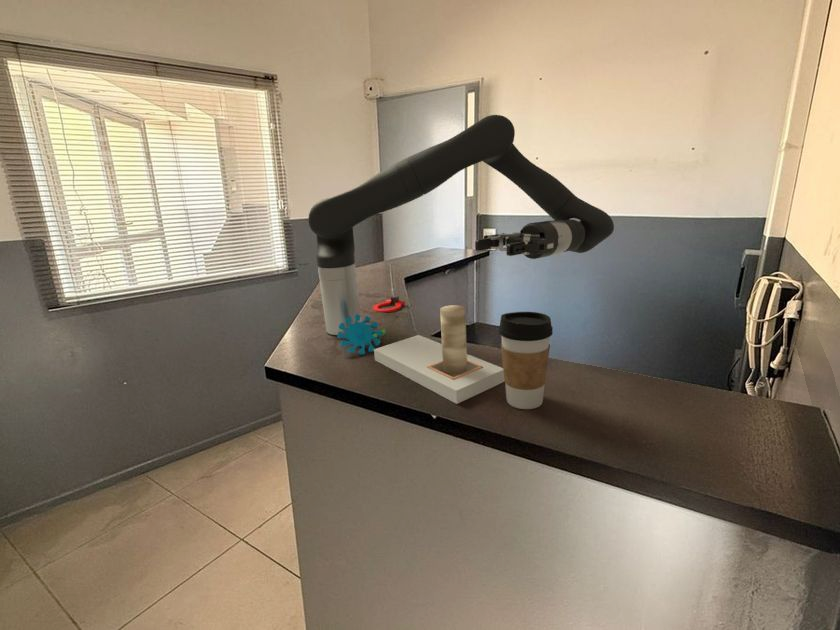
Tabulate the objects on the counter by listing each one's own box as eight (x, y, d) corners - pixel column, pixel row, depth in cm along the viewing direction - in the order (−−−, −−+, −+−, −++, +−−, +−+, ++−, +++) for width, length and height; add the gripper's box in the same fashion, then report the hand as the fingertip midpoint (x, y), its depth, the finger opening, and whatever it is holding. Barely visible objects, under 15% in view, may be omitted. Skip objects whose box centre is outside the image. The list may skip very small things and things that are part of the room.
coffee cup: (489, 396, 76) (488, 313, 71) (529, 384, 79) (531, 305, 74) (518, 418, 68) (519, 328, 64) (561, 405, 71) (565, 318, 67)
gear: (339, 353, 94) (336, 313, 99) (336, 364, 99) (333, 325, 104) (389, 351, 98) (383, 312, 102) (384, 362, 103) (379, 324, 107)
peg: (438, 379, 83) (435, 309, 79) (456, 372, 86) (453, 303, 81) (454, 387, 80) (451, 314, 75) (472, 379, 82) (470, 308, 78)
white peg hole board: (374, 360, 94) (373, 348, 93) (419, 345, 100) (418, 334, 100) (456, 404, 74) (456, 389, 73) (504, 381, 81) (504, 368, 80)
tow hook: (390, 315, 125) (408, 305, 132) (385, 272, 120) (404, 263, 128) (367, 312, 129) (386, 302, 136) (361, 270, 125) (381, 262, 132)
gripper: (520, 219, 98) (466, 225, 89) (575, 223, 87) (520, 231, 78) (519, 252, 100) (466, 262, 91) (572, 260, 89) (519, 272, 80)
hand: (491, 247), depth 85 cm, fingers open, 8 cm apart
